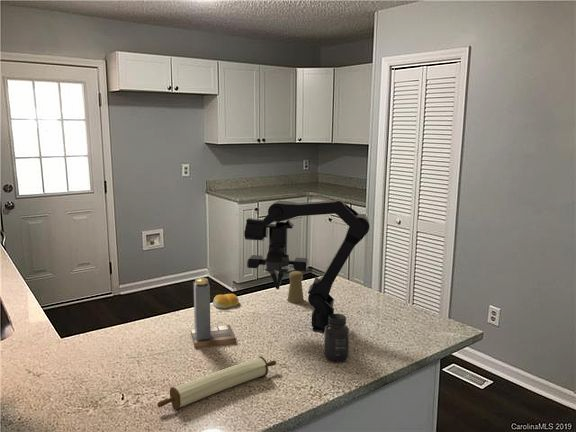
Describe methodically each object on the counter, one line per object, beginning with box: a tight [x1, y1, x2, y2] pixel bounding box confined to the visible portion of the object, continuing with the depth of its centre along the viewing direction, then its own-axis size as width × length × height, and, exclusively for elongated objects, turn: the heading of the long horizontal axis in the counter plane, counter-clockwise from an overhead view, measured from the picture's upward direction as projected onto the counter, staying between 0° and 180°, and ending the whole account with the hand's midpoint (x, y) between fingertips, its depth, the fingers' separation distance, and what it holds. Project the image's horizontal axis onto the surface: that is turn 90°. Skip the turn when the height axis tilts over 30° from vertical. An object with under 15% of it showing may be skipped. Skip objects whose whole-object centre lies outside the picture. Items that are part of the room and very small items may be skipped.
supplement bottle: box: [323, 313, 350, 363], centre depth 130 cm, size 7×7×12 cm
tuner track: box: [190, 324, 237, 349], centre depth 142 cm, size 12×10×2 cm
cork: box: [286, 270, 305, 305], centre depth 172 cm, size 6×6×11 cm
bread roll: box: [212, 293, 239, 309], centre depth 169 cm, size 8×9×4 cm
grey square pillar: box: [193, 277, 211, 340], centre depth 139 cm, size 4×9×17 cm, turn 17°
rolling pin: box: [156, 355, 277, 411], centre depth 113 cm, size 32×6×5 cm, turn 127°
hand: (277, 288), depth 150 cm, fingers closed
